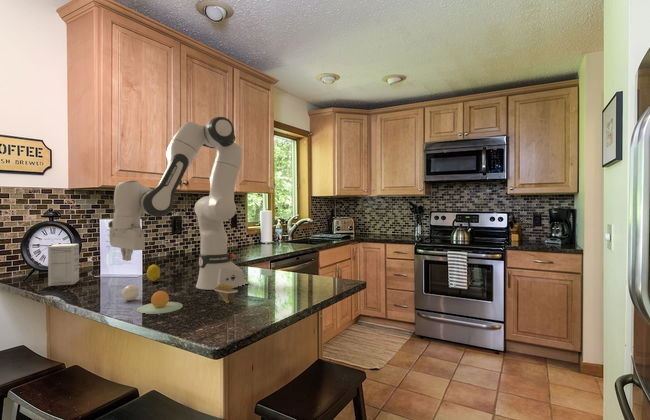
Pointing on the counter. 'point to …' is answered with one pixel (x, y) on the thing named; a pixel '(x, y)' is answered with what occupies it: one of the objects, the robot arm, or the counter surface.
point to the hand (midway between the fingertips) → (126, 260)
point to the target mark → (155, 310)
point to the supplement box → (63, 264)
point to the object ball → (159, 299)
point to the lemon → (153, 272)
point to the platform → (226, 293)
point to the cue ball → (130, 292)
